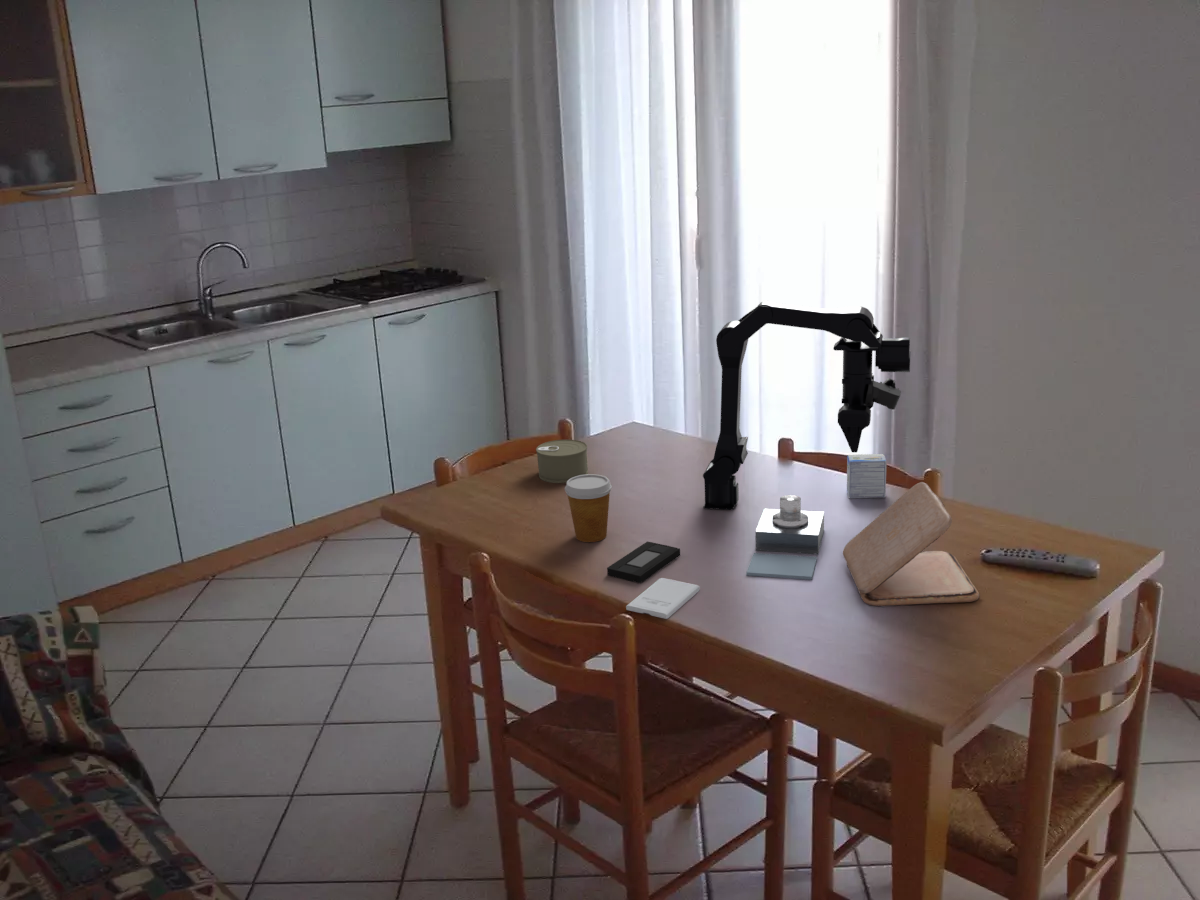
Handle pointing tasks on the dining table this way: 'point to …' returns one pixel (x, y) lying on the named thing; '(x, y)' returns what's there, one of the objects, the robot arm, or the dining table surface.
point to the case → (907, 555)
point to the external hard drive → (663, 598)
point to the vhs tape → (643, 562)
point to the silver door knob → (790, 513)
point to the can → (561, 460)
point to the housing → (790, 534)
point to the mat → (782, 566)
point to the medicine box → (866, 476)
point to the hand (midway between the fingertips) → (856, 444)
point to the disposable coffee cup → (589, 505)
